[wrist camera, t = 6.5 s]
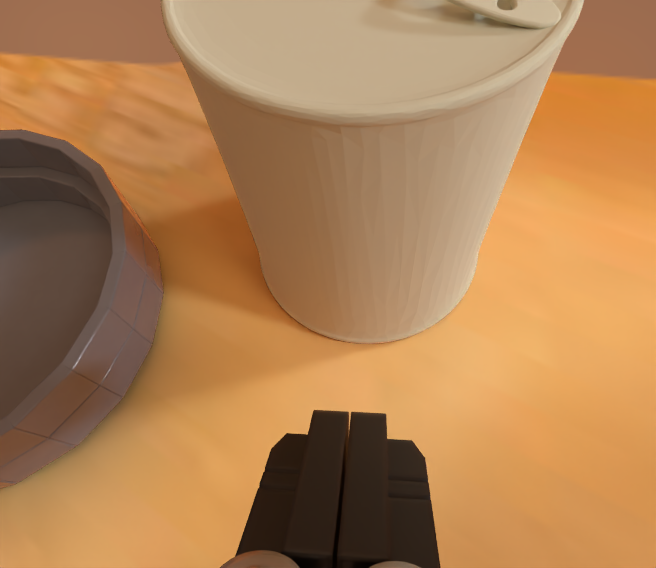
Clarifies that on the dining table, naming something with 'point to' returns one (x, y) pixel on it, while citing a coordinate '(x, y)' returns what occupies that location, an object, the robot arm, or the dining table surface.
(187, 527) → the dining table surface
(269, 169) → the can
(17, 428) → the pan
